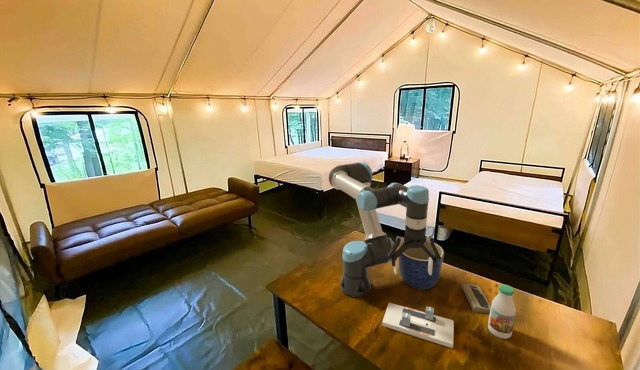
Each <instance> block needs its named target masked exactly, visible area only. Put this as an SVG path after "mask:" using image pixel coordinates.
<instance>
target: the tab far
mask: <svg viewBox="0 0 640 370" xmlns="http://www.w3.org/2000/svg"><path fill="white" fill-rule="evenodd" d="M434 311H435V308H434V307H431V306H428V305H426V307H425V318H426V319H430V320H433V315H435V314H434V313H435V312H434Z"/></svg>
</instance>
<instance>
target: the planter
mask: <svg viewBox="0 0 640 370" xmlns="http://www.w3.org/2000/svg"><path fill="white" fill-rule="evenodd" d="M403 243H404V241H402V242H401V243H400V245H399V246H398V248H397V249H399V248H400V247H401V246H402V245H403ZM434 244H435V247H436V249H437V251H438V253H439V255H440V257H441V259H436V260H437V261H436V262H435V267H432V275H429V273H428V262H429V257H430V256H429V255H428V254H427V253H426V252H425V251H424V250H423V249H422V248H421V247H420V248H409V249H407V250H405V251H404V252H403V253H402V254H401V255H400V256H399V257H398V266H399V269H398V270H399V273H400V276H401V278H402V280H403V281H404V283H406V285H408V286H410V287H412V288H414V289H415V290H416V289H417V290H429V289H432V288H433V287H434V286H436V285H437V283H438V282H439V280H440V277H441V271H442V266H443V262H444V255H445V251H444V249H443V247H442V246H440V245H439V244H438V243H436V242H434ZM424 245H425V246H426V247H427V248H428V249H429V250H430V252H431V253H432V254H433V255H436V254H435V252H434V250H433V248H432V246H431V244H430V243H429V242H428V241H426V242H425V243H424Z"/></svg>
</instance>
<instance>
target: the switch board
mask: <svg viewBox="0 0 640 370" xmlns="http://www.w3.org/2000/svg"><path fill="white" fill-rule="evenodd" d="M403 312H405V313H408V314H411V323H410V327H408V326H405V325H402V315H403ZM425 312H426V311H425ZM425 312H424V311H420V310H417V309H414V308H410V307H406V306H403V305H400V304H396V303H392V302H388V304H387V307H386V310H385V313H384V316H383V319H382V321H381V322H382V324H381V326H382V327H384V328H388V329H391V330H394V331H397V332H400V333H404V334H407V335H410V336H412V337H416V338H419V339H422V340H425V341H429V342H431V343H434V344H438V345H440V346H444V347H447V348H450V349H454V336H455V335H454V330H455V329H454V328H455V327H454V325H455V324H454V322H455V321H454V320H452V319H449V318H446V317H443V316H440V315H439V316H438V315H435V314H434V315H433V320H430V319H426V318H425Z"/></svg>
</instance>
